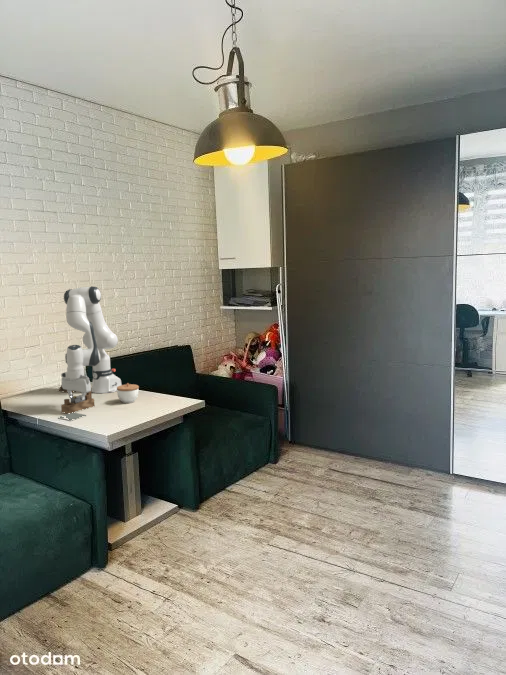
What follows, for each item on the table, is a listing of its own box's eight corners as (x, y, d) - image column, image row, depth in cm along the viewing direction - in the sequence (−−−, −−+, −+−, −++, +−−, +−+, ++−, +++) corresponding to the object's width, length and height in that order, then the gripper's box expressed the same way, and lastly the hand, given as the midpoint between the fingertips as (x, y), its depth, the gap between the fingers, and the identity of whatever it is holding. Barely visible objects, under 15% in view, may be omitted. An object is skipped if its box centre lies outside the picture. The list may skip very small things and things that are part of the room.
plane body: (87, 404, 289) (86, 385, 288) (94, 406, 286) (93, 386, 285) (61, 412, 274) (60, 392, 272) (69, 414, 271) (67, 393, 269)
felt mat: (73, 413, 272) (73, 412, 272) (86, 416, 267) (86, 414, 267) (58, 418, 264) (58, 417, 264) (71, 420, 259) (70, 419, 259)
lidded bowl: (123, 398, 304) (122, 380, 302) (142, 399, 301) (141, 381, 299) (113, 403, 291) (112, 385, 290) (133, 404, 289) (132, 386, 287)
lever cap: (80, 399, 284) (80, 393, 283) (85, 400, 282) (84, 394, 281) (70, 402, 278) (70, 396, 277) (75, 403, 276) (75, 397, 275)
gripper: (93, 375, 275) (94, 399, 277) (68, 371, 285) (69, 395, 287) (84, 377, 269) (85, 402, 271) (59, 373, 280) (60, 397, 281)
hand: (76, 398), depth 279 cm, fingers open, 8 cm apart
